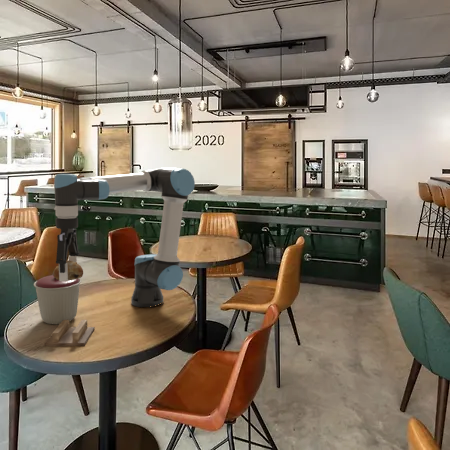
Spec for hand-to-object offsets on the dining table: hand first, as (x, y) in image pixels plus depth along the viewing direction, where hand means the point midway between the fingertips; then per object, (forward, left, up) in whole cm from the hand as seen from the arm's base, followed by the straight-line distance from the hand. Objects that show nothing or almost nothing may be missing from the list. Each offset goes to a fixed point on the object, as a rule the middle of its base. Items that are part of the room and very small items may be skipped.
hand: (68, 276), depth 144 cm
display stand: (0, 0, -24) cm, 24 cm away
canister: (+10, -17, -24) cm, 31 cm away
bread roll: (0, 0, 0) cm, 1 cm away
